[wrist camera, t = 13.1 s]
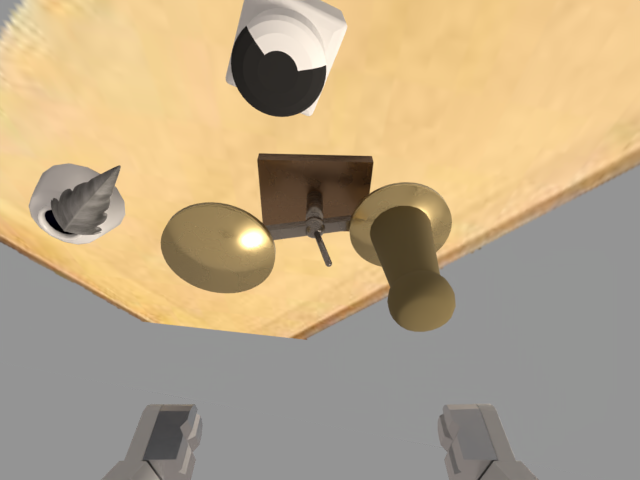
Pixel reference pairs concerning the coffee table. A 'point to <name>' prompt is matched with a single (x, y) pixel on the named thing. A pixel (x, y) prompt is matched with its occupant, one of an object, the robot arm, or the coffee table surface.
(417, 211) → the olive brown pawn
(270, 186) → the balance
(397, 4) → the coffee table surface
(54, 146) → the coffee table surface
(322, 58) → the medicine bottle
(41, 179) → the inkwell
